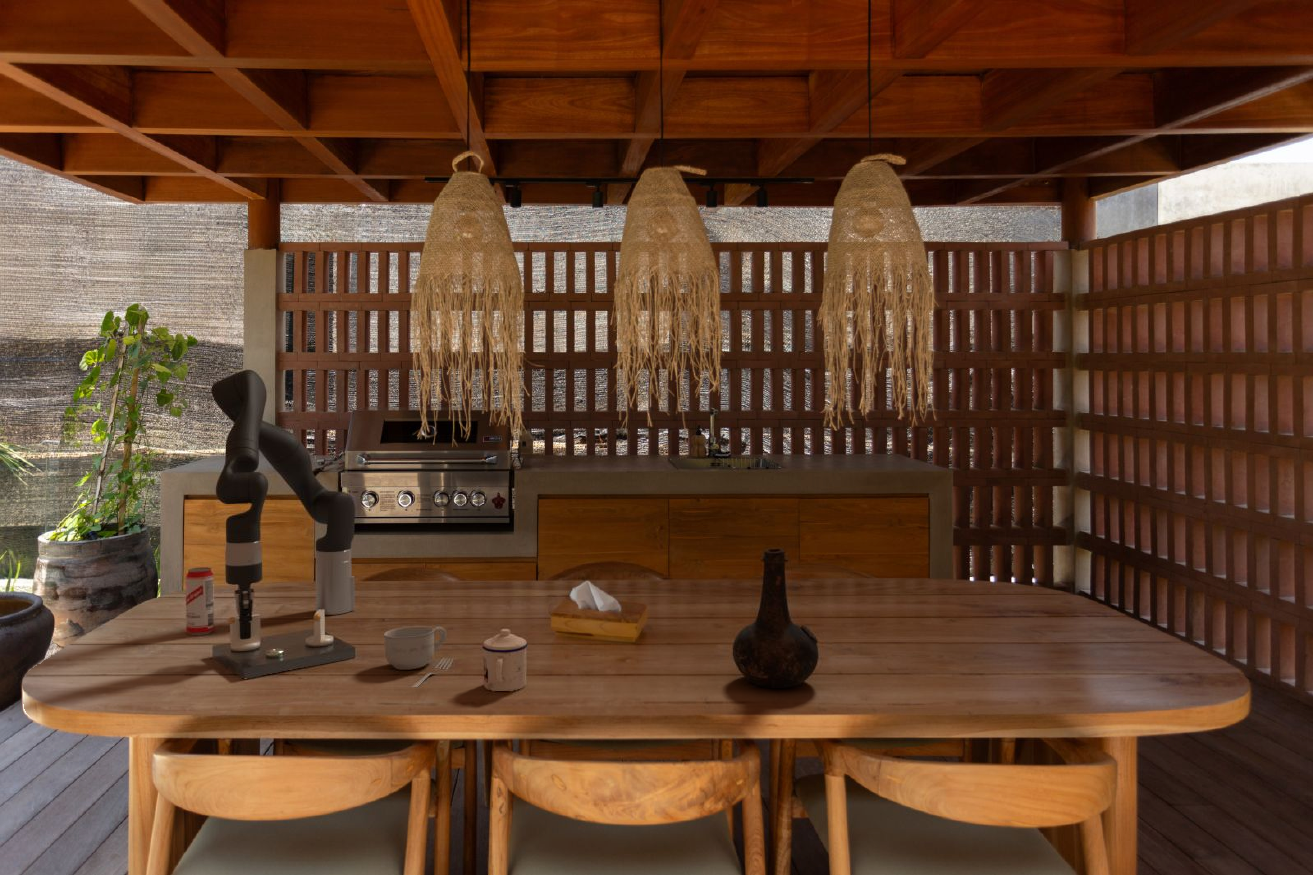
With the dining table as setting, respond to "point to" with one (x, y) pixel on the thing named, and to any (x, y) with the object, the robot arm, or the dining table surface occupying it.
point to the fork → (433, 673)
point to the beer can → (200, 601)
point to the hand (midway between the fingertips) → (245, 637)
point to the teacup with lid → (504, 662)
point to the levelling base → (281, 654)
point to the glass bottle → (775, 635)
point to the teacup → (412, 646)
